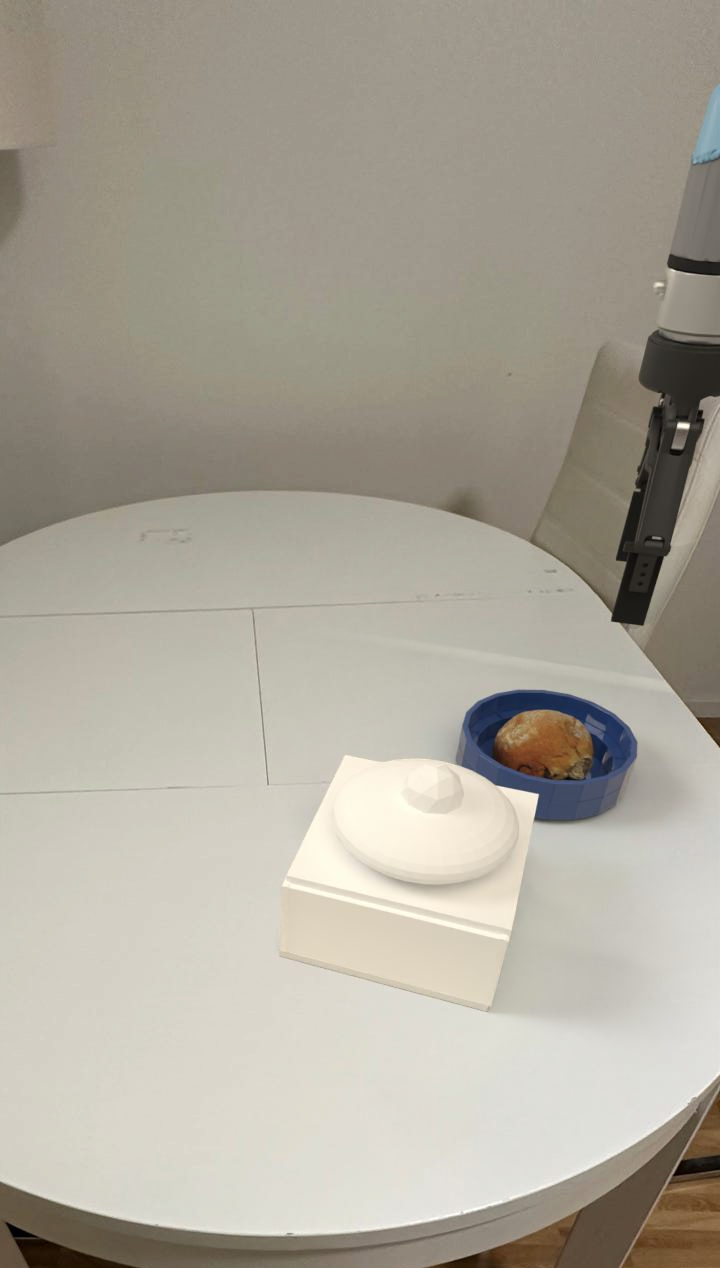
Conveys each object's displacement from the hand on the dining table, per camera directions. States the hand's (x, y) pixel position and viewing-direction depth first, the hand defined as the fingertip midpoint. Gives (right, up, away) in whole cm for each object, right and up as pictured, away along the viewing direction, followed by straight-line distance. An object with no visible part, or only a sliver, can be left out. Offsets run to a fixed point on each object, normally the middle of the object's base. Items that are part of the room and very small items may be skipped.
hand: (628, 590), depth 85 cm
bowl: (-5, -16, +11) cm, 20 cm away
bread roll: (-5, -16, +11) cm, 20 cm away
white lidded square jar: (-22, -30, -4) cm, 37 cm away
